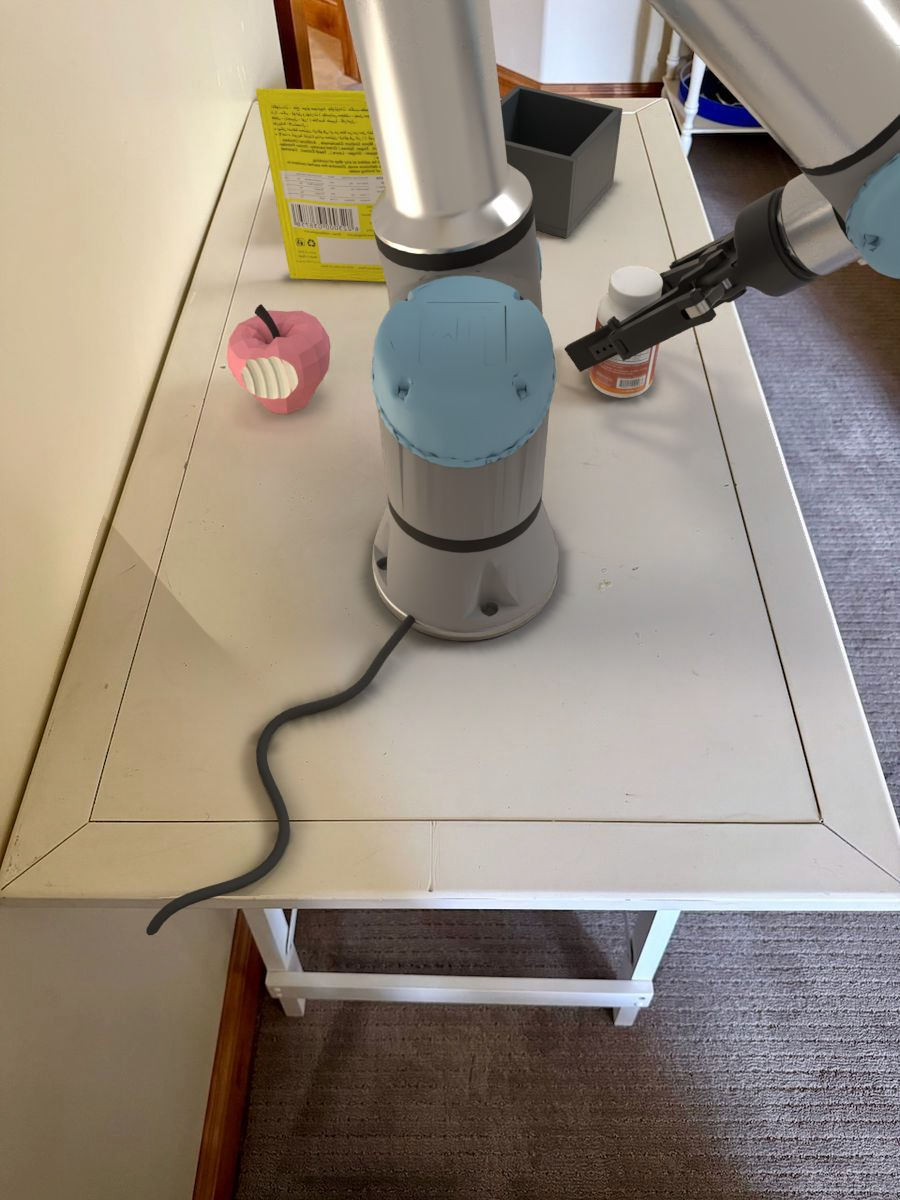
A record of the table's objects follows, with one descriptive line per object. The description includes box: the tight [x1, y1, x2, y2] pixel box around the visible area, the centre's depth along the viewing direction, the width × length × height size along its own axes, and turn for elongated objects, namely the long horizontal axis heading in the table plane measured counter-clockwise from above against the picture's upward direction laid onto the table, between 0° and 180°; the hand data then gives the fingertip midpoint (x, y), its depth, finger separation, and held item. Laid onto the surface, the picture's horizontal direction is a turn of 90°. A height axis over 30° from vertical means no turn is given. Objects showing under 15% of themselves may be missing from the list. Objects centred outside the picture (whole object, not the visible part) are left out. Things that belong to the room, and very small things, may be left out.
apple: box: [226, 303, 331, 415], centre depth 83 cm, size 10×9×10 cm
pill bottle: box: [589, 265, 663, 399], centre depth 84 cm, size 6×6×11 cm
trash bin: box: [500, 84, 624, 239], centre depth 106 cm, size 14×14×9 cm
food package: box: [255, 88, 386, 283], centre depth 91 cm, size 15×1×20 cm, turn 84°
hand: (591, 339), depth 87 cm, fingers closed on pill bottle, 6 cm apart
